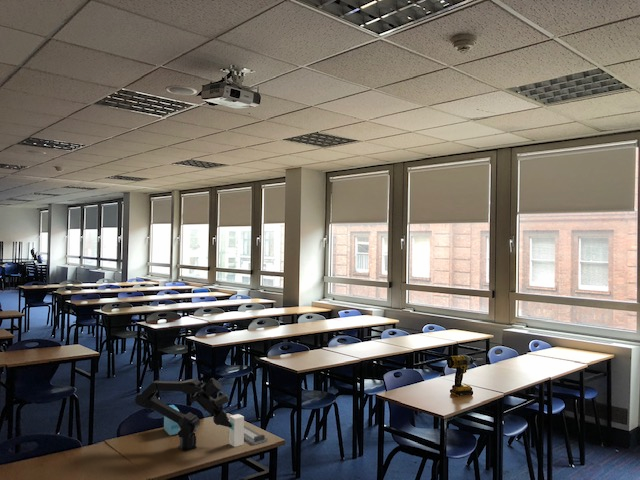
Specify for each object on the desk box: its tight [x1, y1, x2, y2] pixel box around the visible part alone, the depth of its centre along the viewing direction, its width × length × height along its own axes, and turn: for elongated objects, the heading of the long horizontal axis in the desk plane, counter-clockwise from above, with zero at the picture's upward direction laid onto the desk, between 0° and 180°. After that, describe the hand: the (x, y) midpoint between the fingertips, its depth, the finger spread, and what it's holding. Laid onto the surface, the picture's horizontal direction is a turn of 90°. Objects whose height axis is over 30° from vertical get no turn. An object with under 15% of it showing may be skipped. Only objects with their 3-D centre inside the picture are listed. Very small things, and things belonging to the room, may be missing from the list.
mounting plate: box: [244, 425, 269, 446], centre depth 243 cm, size 8×22×3 cm, turn 39°
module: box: [228, 413, 245, 448], centre depth 233 cm, size 5×5×13 cm
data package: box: [163, 404, 180, 436], centre depth 248 cm, size 12×4×12 cm, turn 32°
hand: (230, 423), depth 232 cm, fingers open, 9 cm apart
